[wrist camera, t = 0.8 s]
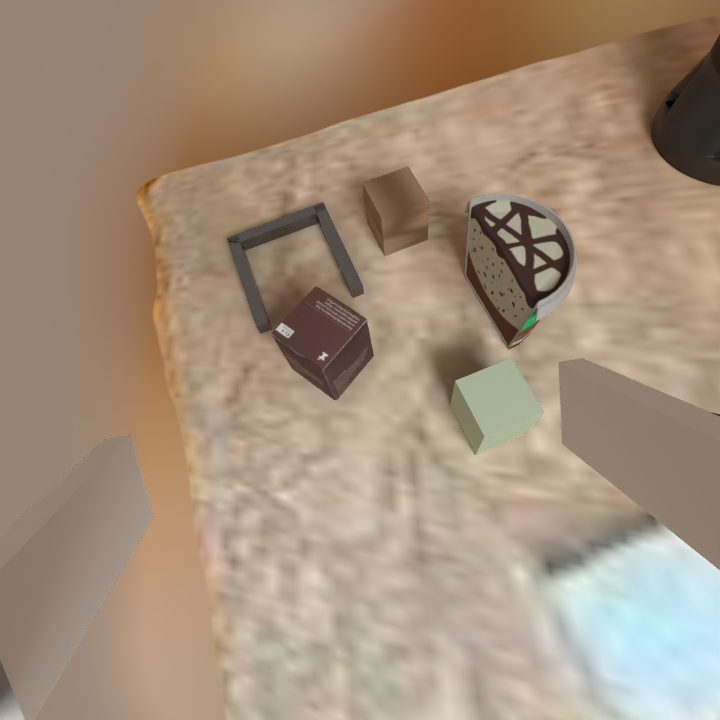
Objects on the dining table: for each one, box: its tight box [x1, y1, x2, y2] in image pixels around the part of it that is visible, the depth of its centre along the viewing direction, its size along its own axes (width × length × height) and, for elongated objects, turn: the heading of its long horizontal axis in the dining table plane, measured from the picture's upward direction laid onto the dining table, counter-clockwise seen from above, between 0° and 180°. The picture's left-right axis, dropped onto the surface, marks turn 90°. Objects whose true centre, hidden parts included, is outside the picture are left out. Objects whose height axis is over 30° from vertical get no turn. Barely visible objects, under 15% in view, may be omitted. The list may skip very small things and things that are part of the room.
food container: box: [464, 194, 576, 350], centre depth 43 cm, size 12×6×10 cm, turn 21°
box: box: [271, 287, 374, 400], centre depth 43 cm, size 6×6×7 cm
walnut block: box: [363, 167, 429, 256], centre depth 50 cm, size 5×5×6 cm
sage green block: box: [450, 358, 544, 455], centre depth 40 cm, size 5×5×6 cm
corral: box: [227, 202, 364, 333], centre depth 51 cm, size 11×12×2 cm
